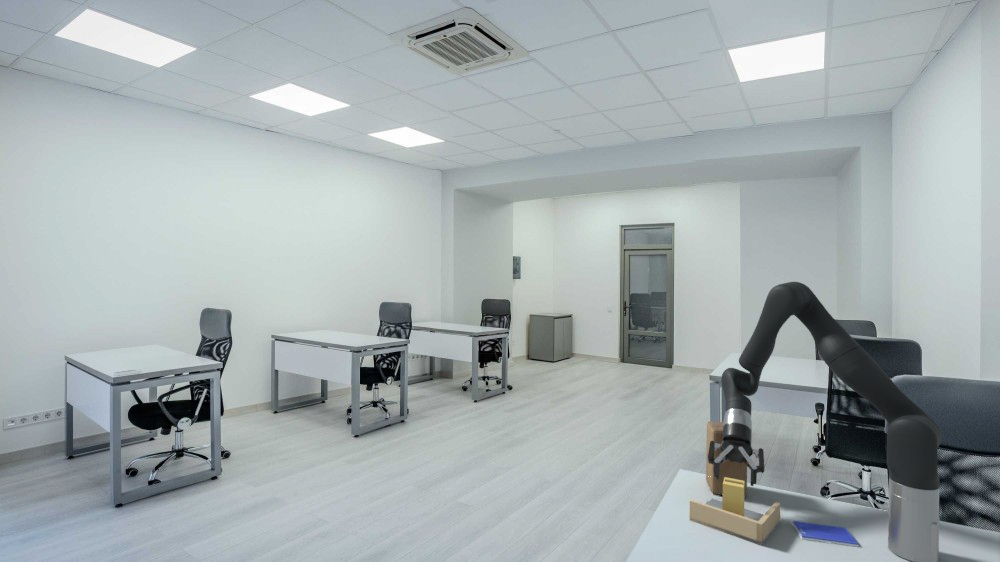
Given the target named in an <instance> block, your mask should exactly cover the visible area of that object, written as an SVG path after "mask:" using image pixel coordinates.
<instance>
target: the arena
mask: <svg viewBox="0 0 1000 562" xmlns="http://www.w3.org/2000/svg"><path fill="white" fill-rule="evenodd" d="M722 504H723V500H719V499H715V498H711V499H710V500H707V502H706V503H703V502H701V501H699V500H695V499H690V500H689V521H692V522H694V523H697V524H700V525H701V526H702V525H703V526H706V527H708V528H711V529H714V530H717V531H719V532H722V533H725V534H729V535H730V536H733V537H736V538H740V539H743V540H744V541H747V542H751V543H753V544H756V545H759V546H763V545H764V543H765V542H766V541H767V540H768V538H769V537H770V536H771V535H772V534H773V532H774V531H775V530H776V529H777V527H779V525H780V524H781V503H780V502H774V503H773V504H772V505H771V506H770V508H769V509H768V510H767V511H766V512H765V513H763V514H762V513H760V512H756V511H753V510H751V509H747V508H744V516H741V515H738V514H735V513H732V512H728V511H725V510H722Z"/></svg>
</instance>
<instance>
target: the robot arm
mask: <svg viewBox="0 0 1000 562" xmlns="http://www.w3.org/2000/svg"><path fill="white" fill-rule="evenodd" d="M791 316H795V317H796V318H797V320H799V321H800V322H801V323H802V324H803V326H804V327H805V328H806V329H807V330H808V331H809V333H810V334H811V337H812V338H813V341H814V344H815V347H816V349H817V351H818V353H819V355H820V357H821V359H822V360H823V362H824V363H825V364H826V365H827V367H829V369H830V370H831V371H832V372H833V373H834V375H835V376H836V377H837V378H839V380H840V381H841V382H842V383H844V384H845V385H846V386H847V387H848V388H850V389H851V390H852V391H854V392H856V393H857V394H858V395H859V396H861V397H862V398H864V399H865V400H866V401H868V402H869V403H870V404H871V405H872V406H873V407H874V408H875V409H876V410H877V411H878V412H879V413H880V414H881V416H882V417H883V418H884V420H885V421H886V422H887V424H888V427H887V431H886V432H887V433H886V464H887V469H888V473H889V474H888V477H889V478H888V524H887V525H888V526H887V527H888V528H887V530H888V531H887V532H888V534H887V535H888V536H887V543H888V544H887V547H888V549H889V551H890V552H891V553H893V554H895V555H897V556H898V557H900V558H902V559H904V560H908V561H910V562H939V556H940V476H939V473H938V448H939V446H940V445H941V443H942V440H943V432H942V429H941V427H940V426H939V425H938V423H937V422H936V421H935V420H934V419H933V418H932V417H931V416H929V415H928V414H927V413H926V412H925V411H924V410H923V409H921V408H920V407H919V406H918V405H917V404H916V403H915V402H914V401H913V400H911V399H910V398H909V397H908V396H907V395H906V394H905V393H904V392H903V391H901V389H900V388H899V387H898V386H897V385H896V383H895V382H894V381H893V380H892V378H890V376H889V375H888V374H887V373H886V372H885V371H884V370H883V369H882V368H881V366H880V365H879V364H878V363H877V362H876V361H875V359H874V358H873V357H872V356H871V355H870V354H869V353H868V352H867V350H865V349H864V347H862V346H861V345H860V343H858V342H857V341H856V340H855V338H853V337H852V336H851V335H850V333H848V332H847V330H845V328H844V327H843V326H842V325H841V324H840V322H838V321H837V320H836V319H835V317H833V316H832V314H830V313H829V311H828V310H827V309H826V307H825V306H824V305H823V303H822V302H821V301H820V299H818V297H817V296H816V294H815V293H814V291H812V289H810V287H809V286H807V285H806V284H804V283H802V282H799V281H789V282H784V283H780V284H777V285H775V286H774V287H772V288H771V289H770V290H769V291H768V294H767V296H766V299H765V302H764V304H763V307H762V310H761V313H760V316H759V319H758V321H757V324H756V326H755V328H754V330H753V332H752V335H751V337H749V341H748V342H747V343H746V345H745V347H744V348H743V351H742V352H741V354H740V356H739V358H738V364H739V365H740V367H742V368H743V369H744V370H746V371H747V372H746V371H743V370H740V369H739V368H738V369H737V368H735V367H728V368H726V369H724V370H723V372H722V374H721V380H720V382H721V388H722V391H723V396H724V398H725V412H724V417H723V422H724V424H723V438H722V443H721V444H717V443H715V442H714V441H711V442H710V446H709V452H708V462H709V463H710V464H713V465H714V477H716V479H719V474H720V465H721V464H722V463H724V462H726V461H727V460H730V461H732V462H738V463H742V462H744V463H745V464H746V465H747V468H748V469H749V470H750V486H751V487H754V485H756V484H757V481H758V479H757V478H758V477H757V475H758V473H761V474H763V473H765V457H764V455H765V454H764V453H765V452H764V449H763V448H762V447H760V448H758V449H754V448H753V447H752V434H753V433H752V431H753V428H752V427H753V425H752V424H753V423H752V422H753V421H752V401H751V399H750V398H749V397H751V396H753V395H754V396H755V394H756V393H757V391H758V390H759V386H760V379H761V375H762V372H763V370H764V368H765V366H766V365H767V363H768V361H769V360H770V358H771V356H772V354H773V352H774V350H775V346H776V341H777V337H778V334H779V332H780V330H781V329H782V327H783V326H784V325H785V323H786V322H787V321H788V320H789V319H790V317H791ZM719 448H720V449H721V451H722V453H721V454H720V455H719V456H718V457H717V458H716V459H714V451H717V450H718V449H719ZM753 455H755V458H758V465H756V464H755V463H754V462H753V459H752V458H751V457H752V456H753Z"/></svg>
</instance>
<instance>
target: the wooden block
mask: <svg viewBox="0 0 1000 562" xmlns="http://www.w3.org/2000/svg"><path fill="white" fill-rule="evenodd" d="M723 424H724V421H712V420H711V421H707V423H706V445H705V446H706V448H705V449H706V453H705V454H706V455H705V456H706V457H705V459H706V460H705V462H706V463H705V464H706V465H705V468H706V469H705V472H706V473H705V480H706V483H707V485H708V487H709V490H710V491H711V493H712V494H713V495H721V496H723V481H724V477H727V478H732V479H737V480H743V481H745V488H744V498H745V497H747V493H748V492H747V491H748V467H747V465H746V464H745V463H744V462H742V463H738V462H732V461H730V460H727V461H726V462H724V463H722V464H721V465H720V474H719V479H716V477H714V465H713V464H710V463H709V462H708V452H709V446H710V442H711V441H714V442H715V443H717V444H721V443H722V438H723ZM721 453H722V451H721V449H720V448H719V449H718V450H717V451H714V459H716V458H717V457H718V456H719V455H720V454H721ZM708 476H709V477H708ZM710 476H711V477H710Z"/></svg>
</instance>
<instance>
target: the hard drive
mask: <svg viewBox="0 0 1000 562" xmlns="http://www.w3.org/2000/svg"><path fill="white" fill-rule="evenodd" d="M791 524H792V526H793V528H794V530H795V531H796V533H797V535H798V536H799V537H800V539H801V540H802V541H803V540H804V541H812V542H818V541H821V542H820V543H825V542H831V543H830V544H833V543H837V544H836V545H840V544H843V545H842V546H849V547H856V548H859V542H858V541H857V540H856V539H855V537H854V536H853V535H852V534H851V532H850V531H849V530H848V529H847V528H846V527H841V526H834V525H833V526H832V525H827V524H820V523H819V524H818V523H811V522H805V521H797V520H791Z"/></svg>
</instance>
